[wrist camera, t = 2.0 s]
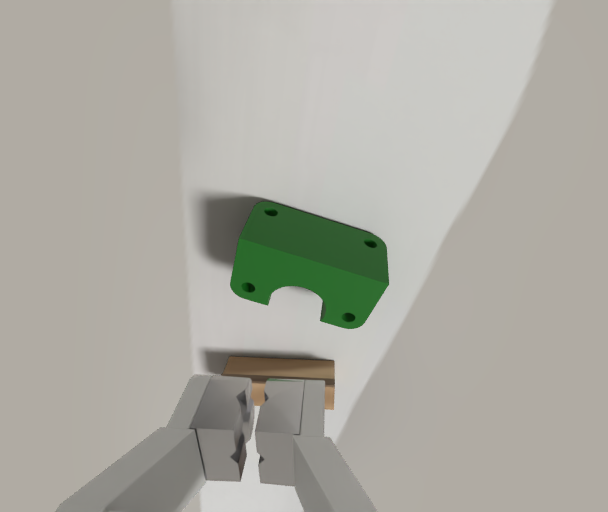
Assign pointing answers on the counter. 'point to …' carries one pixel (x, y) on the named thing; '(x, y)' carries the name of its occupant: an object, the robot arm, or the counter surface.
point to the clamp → (310, 262)
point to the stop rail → (281, 374)
